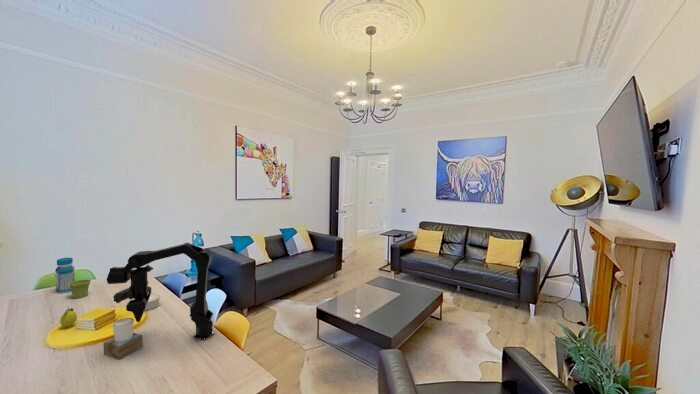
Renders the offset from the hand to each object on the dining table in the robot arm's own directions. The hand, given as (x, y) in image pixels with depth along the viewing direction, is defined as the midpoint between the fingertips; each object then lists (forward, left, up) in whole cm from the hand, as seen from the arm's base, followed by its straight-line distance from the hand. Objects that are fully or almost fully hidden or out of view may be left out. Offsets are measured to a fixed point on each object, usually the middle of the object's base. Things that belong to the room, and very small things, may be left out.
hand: (140, 316), depth 119 cm
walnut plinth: (+1, +6, -12) cm, 13 cm away
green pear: (+43, +2, -12) cm, 45 cm away
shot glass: (+1, +6, -7) cm, 9 cm away
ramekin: (+29, -25, -12) cm, 40 cm away
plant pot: (+77, -21, -12) cm, 81 cm away
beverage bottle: (+94, -23, -12) cm, 97 cm away
